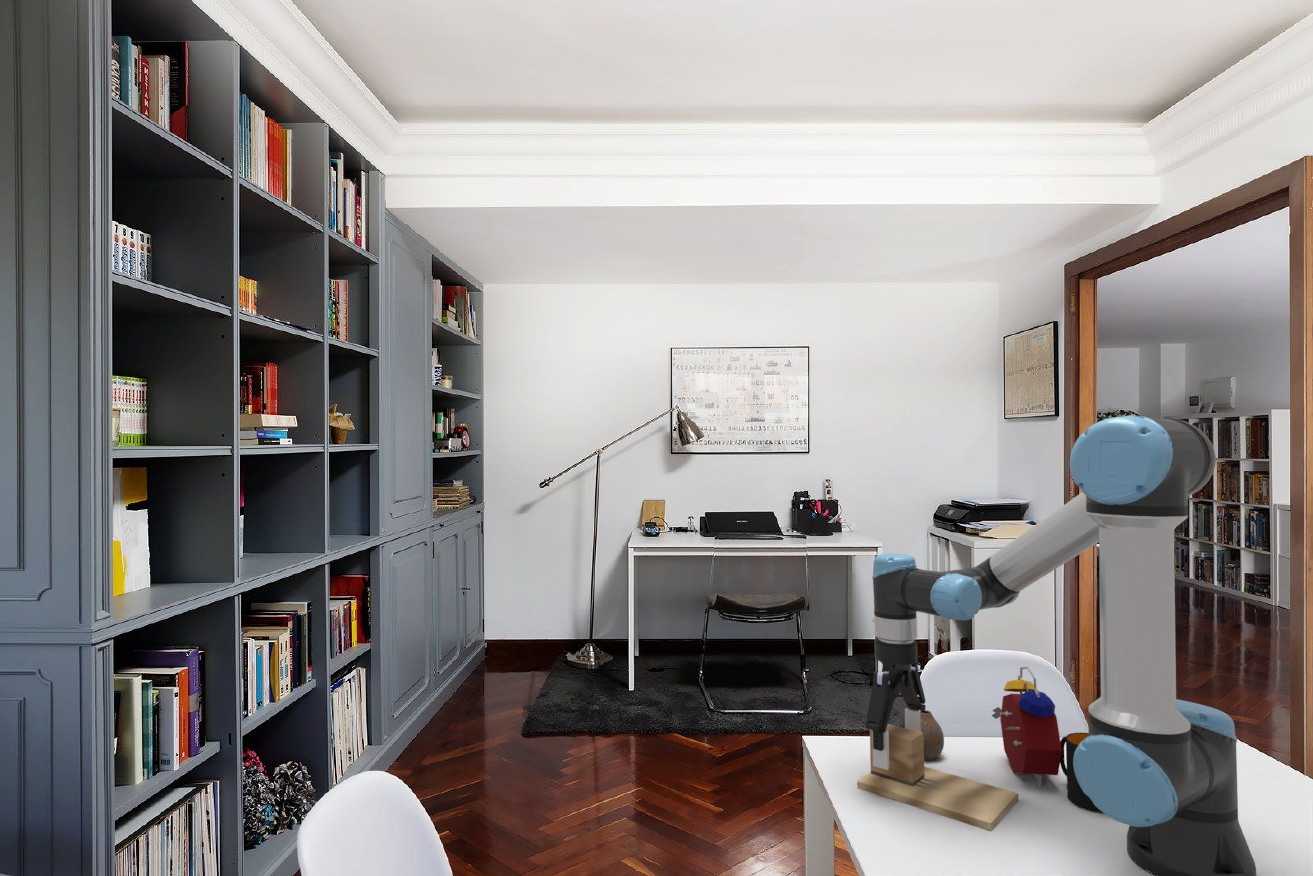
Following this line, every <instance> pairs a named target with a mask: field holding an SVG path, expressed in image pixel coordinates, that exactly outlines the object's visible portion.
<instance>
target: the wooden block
mask: <svg viewBox="0 0 1313 876" xmlns="http://www.w3.org/2000/svg"><path fill="white" fill-rule="evenodd" d="M886 731H889V769H888V770H886V769H882V768H879V767H876V766H873V738H872V730H870V729H869V742H870V743H869V744H870V745H869V750H870V751H869V752H870V753H869V754H870V756H869V757H870V758H869V759H870V772H871V774H874V775H877V776H880V777H884V778H887V779H890V780H894V781H897V782H900V783H903V784H907V785H910V786H914V785H915V784H917V783H918V782H919V781H920V780H922V779H923V778H924V767H925V760H924V736H923V733H922V732H918V731H914V730H910V729H906V728H905V727H903V726H898V725H894V724H890V723H888V724H887V728H886Z"/></svg>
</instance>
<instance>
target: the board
mask: <svg viewBox="0 0 1313 876" xmlns="http://www.w3.org/2000/svg"><path fill="white" fill-rule="evenodd" d="M856 783H857V785H856V786H857V789H861V790H863V791H866V792H870V793H872V794H876V795H879V796H882V797H884V798H885V797H886V798H888V799H891V800H894V801H897V802H900V803H903V804H906V805H910V806H913V807H916V808H918V809H922V810H925V811H928V812H931V813H935V814H938V815H941V816H944V817H947V818H950V819H953V820H956V821H959V822H962V823H965V824H969V825H971V826H975V827H977V828H980V829H983V830H984V829H985V830H987V831H990V832H992V831H993V830H994V829H995V828H996V827H997V825H998V824H999V823H1000V822H1001V821H1002V819H1003V818H1004V817H1005V816H1006V815H1007V814H1008V813H1009V811H1011V809H1012V808H1013V807H1014V806H1015V805H1016V803H1018V801H1019V792H1015V791H1013V790H1009V789H1005V788H1001V787H998V786H994V785H991V784H987V783H984V782H981V781H976V780H973V779H969V778H966V777H964V776H963V777H962V776H960V775H959V776H958V775H955V774H952V773H949V772H946V771H941V770H937V769H934V768H930V767H926V766H924V778H923V779H922V780H920V781H919V782H918V783H917V784H915V785H914V786H910V785H907V784H903V783H900V782H897V781H894V780H890V779H887V778H884V777H880V776H877V775H874V774H871V771H870V772H868V773H867V774H866V775H863V776H862V777H861V778H860V779H858V780H857V782H856Z"/></svg>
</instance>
